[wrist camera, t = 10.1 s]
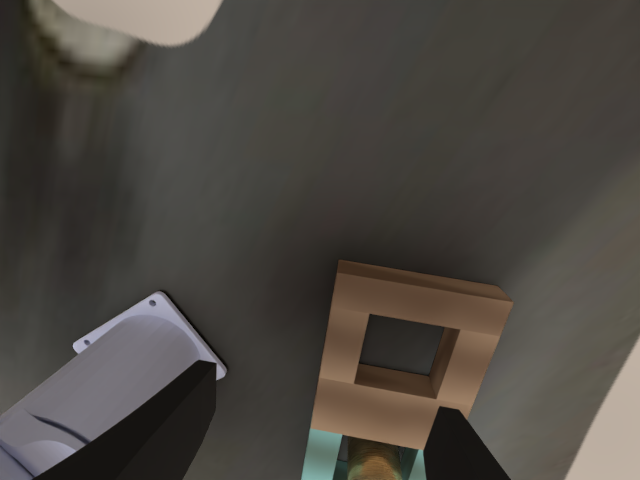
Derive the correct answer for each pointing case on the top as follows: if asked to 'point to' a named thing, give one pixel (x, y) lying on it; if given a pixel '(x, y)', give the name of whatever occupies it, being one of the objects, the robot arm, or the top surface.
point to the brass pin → (372, 460)
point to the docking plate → (391, 385)
